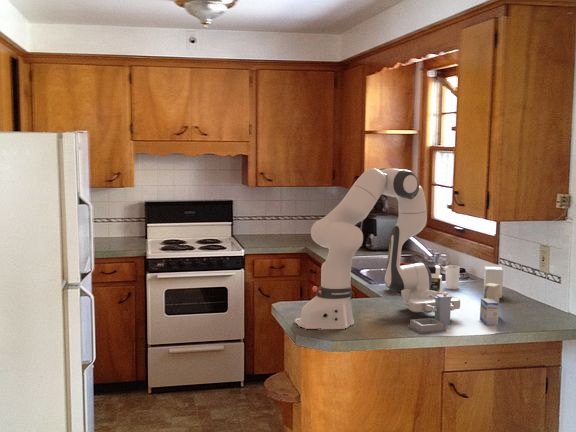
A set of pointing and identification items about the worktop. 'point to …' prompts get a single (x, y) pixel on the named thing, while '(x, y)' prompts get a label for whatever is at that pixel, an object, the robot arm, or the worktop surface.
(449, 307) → the block
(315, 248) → the worktop surface
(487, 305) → the medicine box
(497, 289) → the box
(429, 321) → the pocket plate
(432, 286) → the medicine bottle
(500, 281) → the supplement box
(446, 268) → the drinking glass
